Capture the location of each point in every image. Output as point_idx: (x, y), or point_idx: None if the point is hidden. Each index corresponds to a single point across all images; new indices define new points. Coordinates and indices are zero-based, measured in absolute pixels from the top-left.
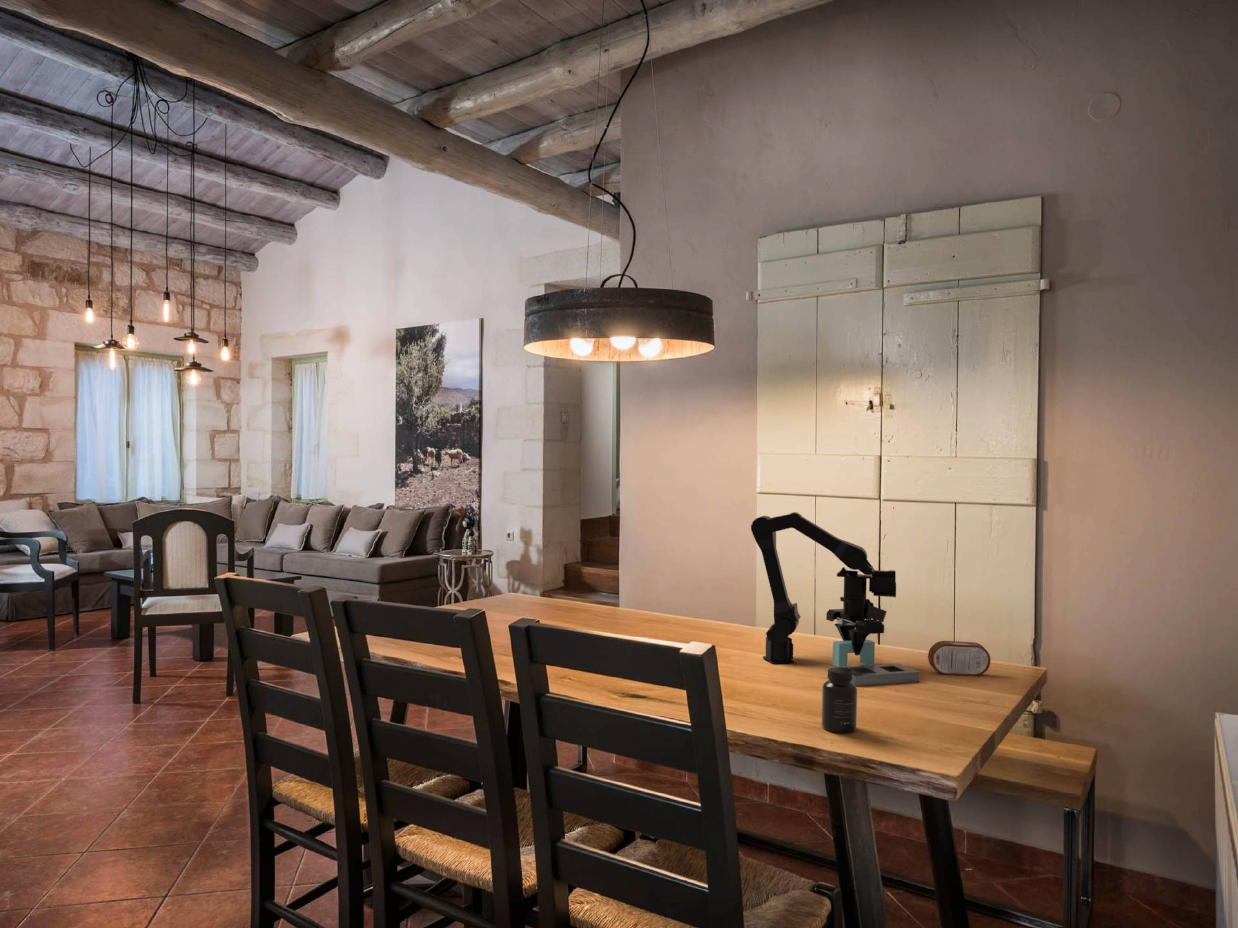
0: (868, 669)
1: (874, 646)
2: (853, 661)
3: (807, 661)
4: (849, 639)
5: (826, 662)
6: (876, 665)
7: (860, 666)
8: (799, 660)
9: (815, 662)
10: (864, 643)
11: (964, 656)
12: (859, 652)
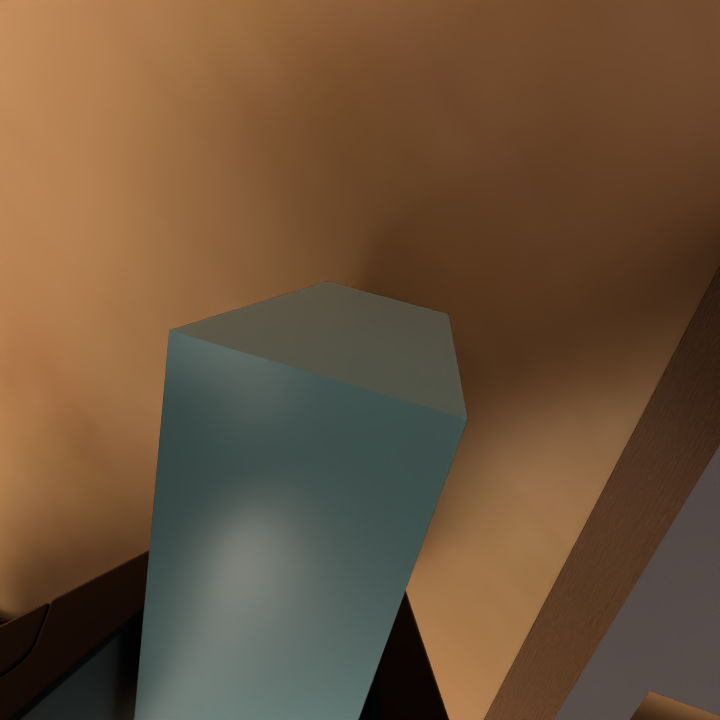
0: (693, 698)
1: (456, 380)
2: (170, 277)
3: (84, 572)
4: (110, 704)
5: (136, 493)
6: (673, 545)
7: (584, 693)
8: (53, 590)
9: (117, 552)
10: (387, 637)
11: None
12: (405, 607)
